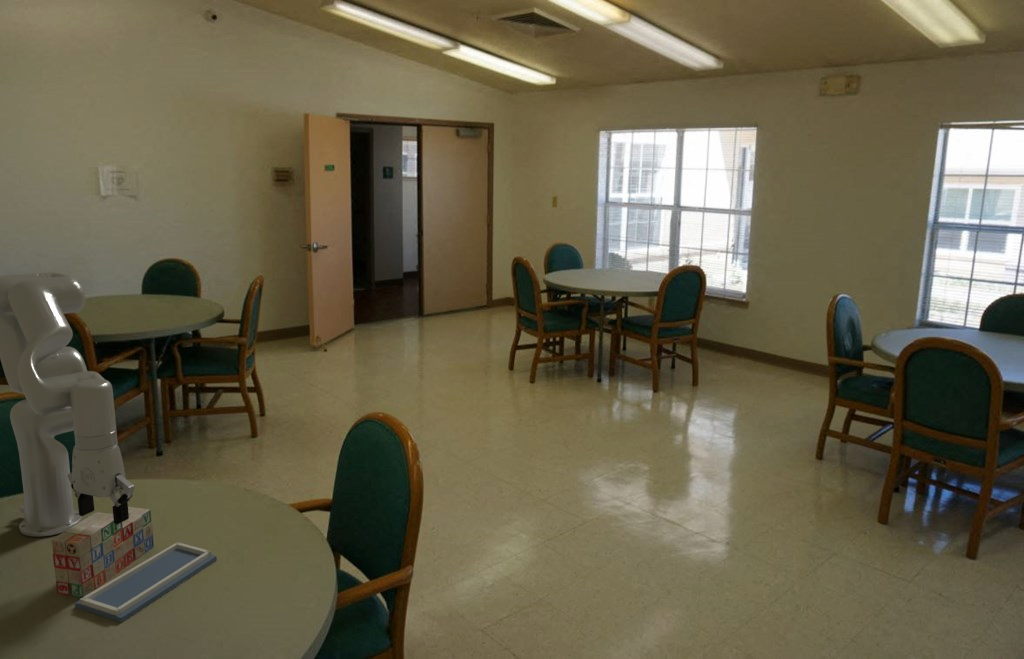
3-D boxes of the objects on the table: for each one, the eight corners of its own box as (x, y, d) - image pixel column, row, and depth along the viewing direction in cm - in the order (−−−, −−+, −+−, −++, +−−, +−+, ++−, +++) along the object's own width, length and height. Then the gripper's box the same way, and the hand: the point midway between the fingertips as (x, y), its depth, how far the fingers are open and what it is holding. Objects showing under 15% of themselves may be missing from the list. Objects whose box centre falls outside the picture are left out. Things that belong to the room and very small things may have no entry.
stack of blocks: (130, 543, 169) (126, 493, 167) (154, 547, 168) (150, 496, 165) (56, 594, 149) (50, 538, 146) (83, 599, 148) (78, 542, 145)
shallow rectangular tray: (75, 607, 145) (74, 598, 144) (174, 548, 167) (173, 540, 167) (121, 622, 140) (120, 613, 140) (216, 560, 163) (216, 552, 163)
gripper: (49, 439, 151) (57, 517, 155) (112, 451, 145) (120, 532, 149) (81, 428, 158) (89, 503, 161) (143, 439, 152) (150, 517, 155)
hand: (104, 517), depth 155 cm, fingers open, 9 cm apart
